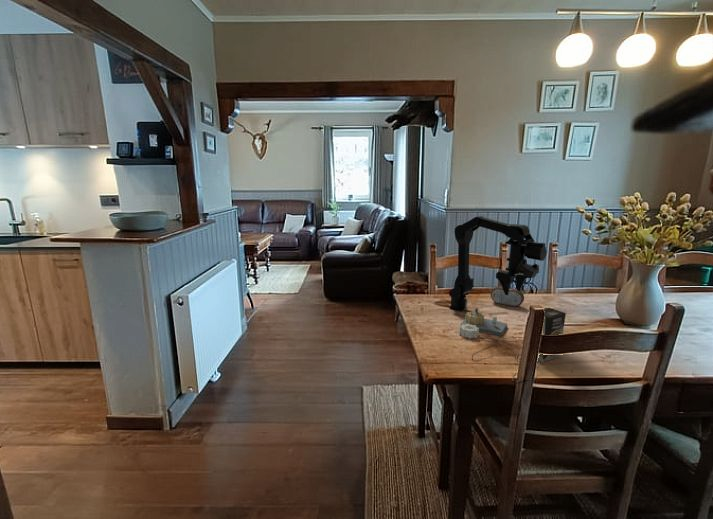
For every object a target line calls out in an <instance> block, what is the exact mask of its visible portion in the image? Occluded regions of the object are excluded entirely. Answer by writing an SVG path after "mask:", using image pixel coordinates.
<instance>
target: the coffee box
mask: <svg viewBox="0 0 713 519" xmlns="http://www.w3.org/2000/svg"><path fill="white" fill-rule="evenodd" d="M543 309H544V311H545V319H544V326H543V334H544V335H559V334H563V335H564V328H565V321H566V315H567V313H566V312H564V311H560V310H557V309H554V308H551V307H548V308H543ZM560 356H561V354H560V355H543V354H540V355H539V359H537V360H538V361H540V362H541V363H544V362H546V361H550V360H554V359H556V358H560Z"/></svg>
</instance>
